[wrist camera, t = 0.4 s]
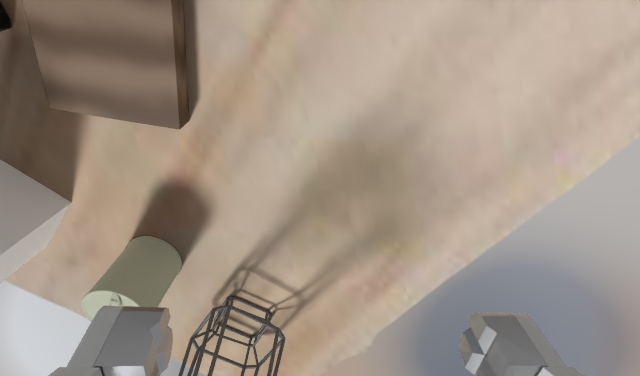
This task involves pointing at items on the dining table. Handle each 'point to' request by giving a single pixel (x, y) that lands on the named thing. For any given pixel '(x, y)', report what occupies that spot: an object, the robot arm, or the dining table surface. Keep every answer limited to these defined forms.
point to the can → (135, 276)
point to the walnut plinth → (113, 58)
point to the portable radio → (4, 20)
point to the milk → (25, 218)
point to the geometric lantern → (215, 355)
